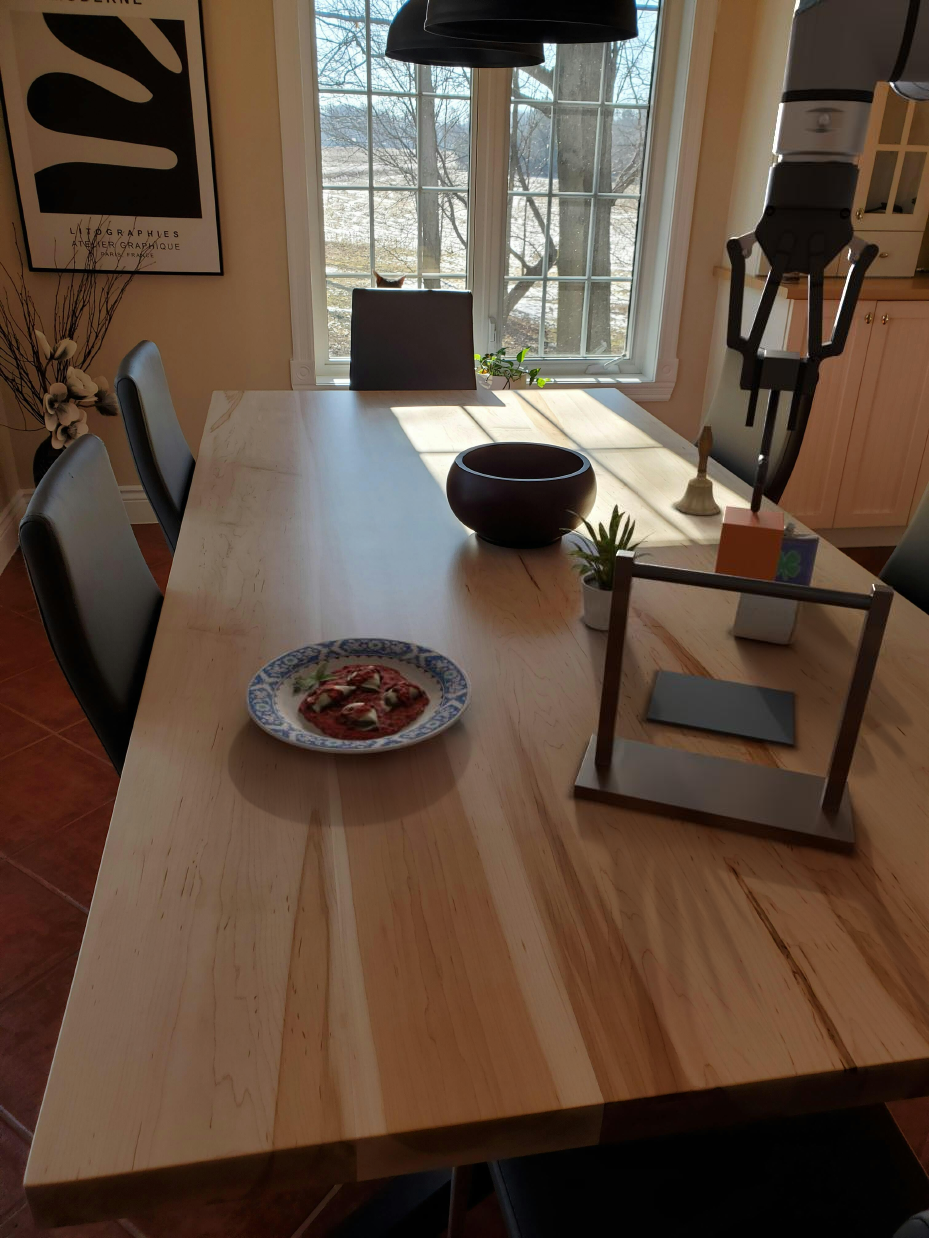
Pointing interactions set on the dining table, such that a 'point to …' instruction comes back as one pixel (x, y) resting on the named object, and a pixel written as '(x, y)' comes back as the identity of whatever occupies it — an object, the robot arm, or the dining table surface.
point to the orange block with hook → (759, 490)
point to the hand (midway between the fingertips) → (769, 425)
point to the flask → (796, 557)
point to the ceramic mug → (767, 618)
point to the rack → (720, 784)
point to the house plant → (601, 581)
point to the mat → (723, 707)
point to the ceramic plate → (358, 695)
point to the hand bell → (700, 482)
